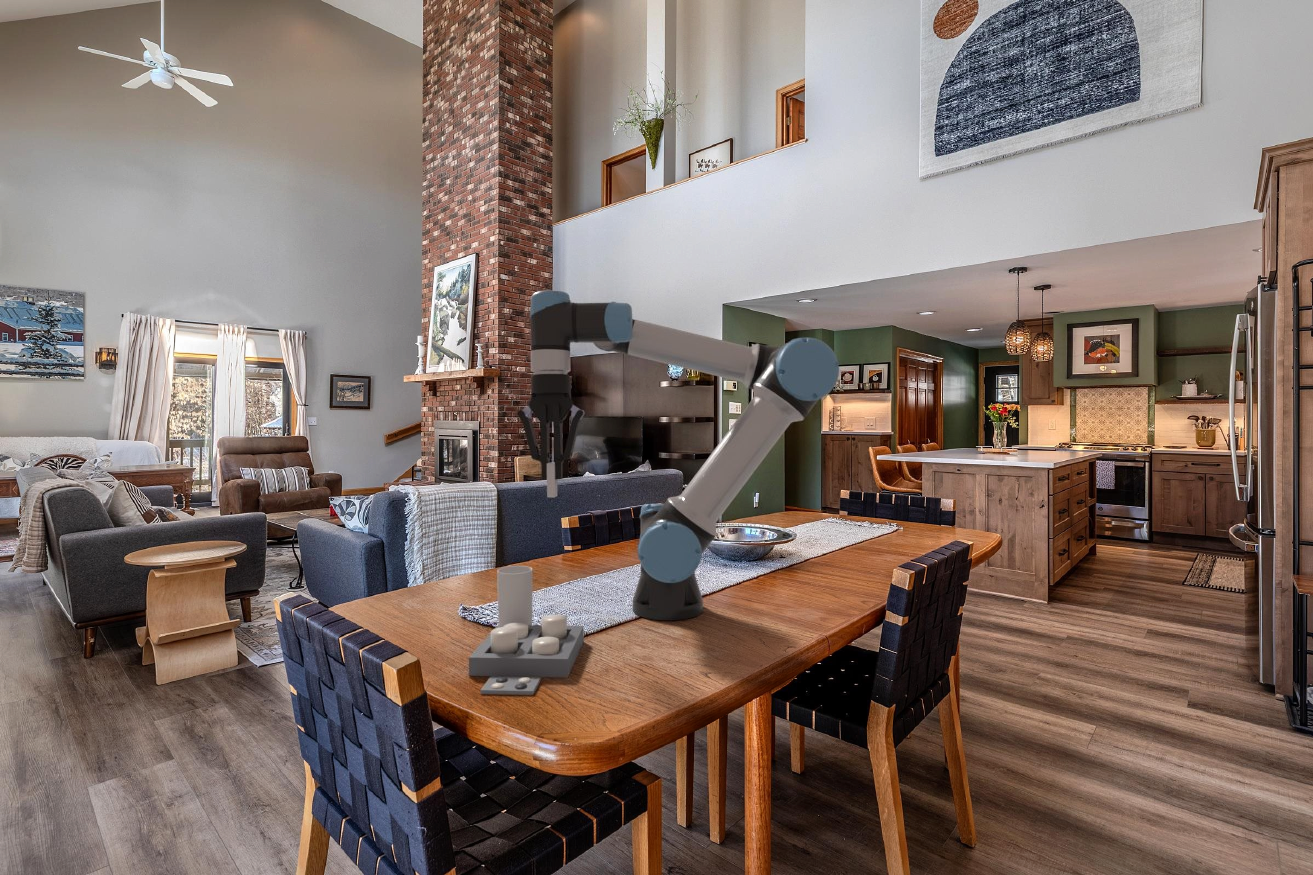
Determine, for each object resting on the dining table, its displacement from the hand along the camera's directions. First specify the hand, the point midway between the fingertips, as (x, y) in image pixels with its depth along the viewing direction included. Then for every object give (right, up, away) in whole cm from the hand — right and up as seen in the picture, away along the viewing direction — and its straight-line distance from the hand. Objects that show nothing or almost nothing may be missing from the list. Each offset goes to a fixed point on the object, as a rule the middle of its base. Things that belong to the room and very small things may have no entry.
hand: (552, 496), depth 123 cm
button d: (-5, -25, -16) cm, 30 cm away
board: (-2, -27, -13) cm, 30 cm away
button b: (-5, -26, -9) cm, 28 cm away
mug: (-8, -26, +3) cm, 28 cm away
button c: (+2, -26, -16) cm, 31 cm away
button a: (+2, -24, -9) cm, 26 cm away
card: (-2, -27, -25) cm, 37 cm away
